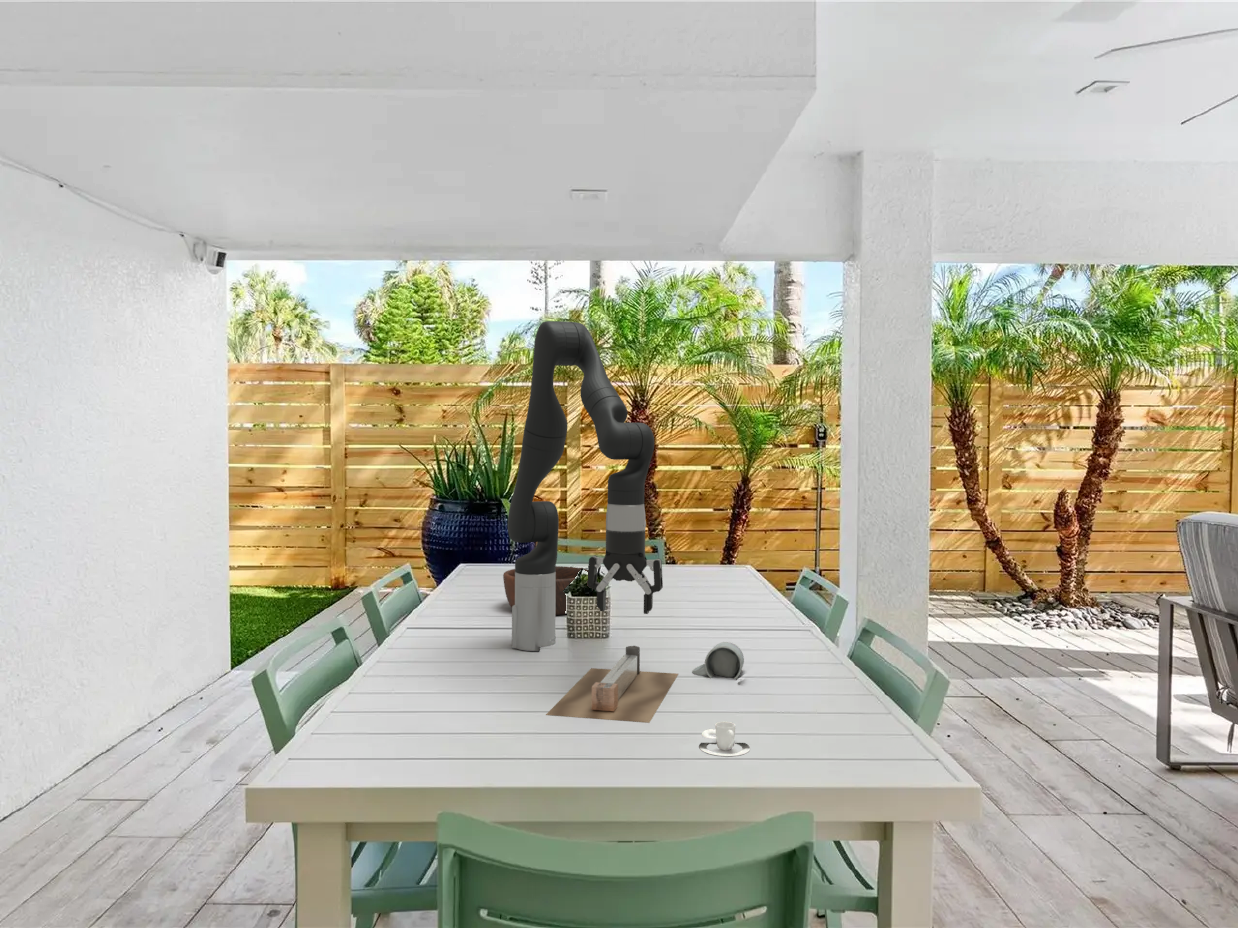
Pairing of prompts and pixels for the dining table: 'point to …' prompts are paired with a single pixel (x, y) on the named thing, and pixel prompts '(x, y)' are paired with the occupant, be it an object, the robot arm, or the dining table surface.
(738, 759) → the dining table surface
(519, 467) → the robot arm
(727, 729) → the teacup and saucer
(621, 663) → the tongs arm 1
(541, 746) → the dining table surface
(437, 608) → the dining table surface
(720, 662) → the ceramic mug
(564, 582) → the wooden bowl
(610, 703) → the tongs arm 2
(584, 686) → the walnut board
